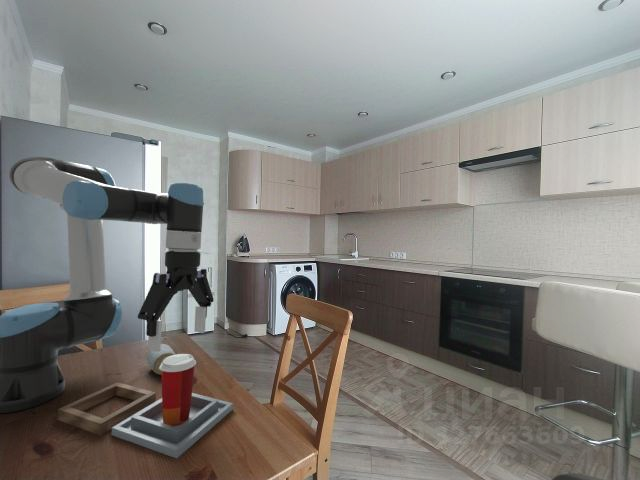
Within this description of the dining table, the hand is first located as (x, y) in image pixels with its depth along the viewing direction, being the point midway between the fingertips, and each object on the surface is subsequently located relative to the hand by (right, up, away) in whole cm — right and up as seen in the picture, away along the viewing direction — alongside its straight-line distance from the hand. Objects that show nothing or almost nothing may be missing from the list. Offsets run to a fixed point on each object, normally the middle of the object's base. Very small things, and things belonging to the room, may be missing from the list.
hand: (178, 340), depth 69 cm
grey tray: (0, -19, 0) cm, 19 cm away
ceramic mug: (-16, -19, +26) cm, 36 cm away
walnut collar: (-18, -18, +3) cm, 26 cm away
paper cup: (-1, -19, 0) cm, 19 cm away
